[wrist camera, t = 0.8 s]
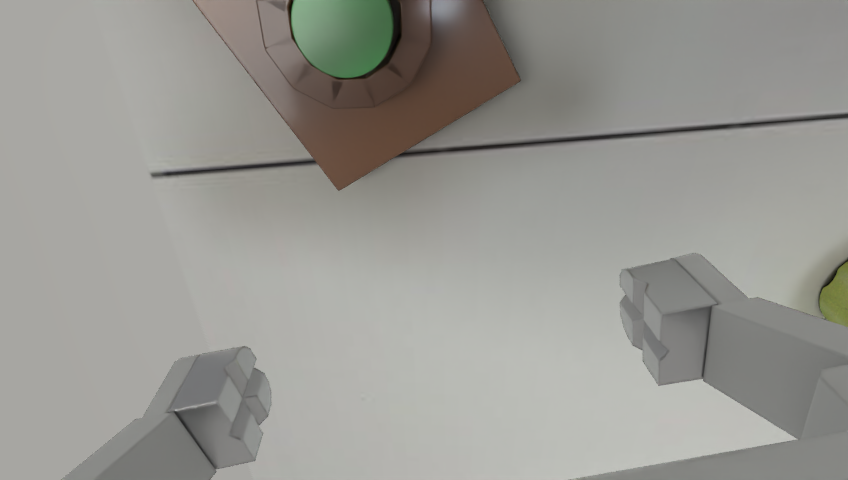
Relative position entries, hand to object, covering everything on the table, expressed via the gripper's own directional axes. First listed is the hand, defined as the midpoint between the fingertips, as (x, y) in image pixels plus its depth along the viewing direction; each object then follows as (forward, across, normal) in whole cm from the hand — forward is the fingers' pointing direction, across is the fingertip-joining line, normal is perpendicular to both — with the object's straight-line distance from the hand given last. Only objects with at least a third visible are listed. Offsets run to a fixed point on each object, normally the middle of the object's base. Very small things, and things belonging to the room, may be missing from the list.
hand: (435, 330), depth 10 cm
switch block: (+16, +2, -6) cm, 17 cm away
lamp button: (+12, +2, -6) cm, 14 cm away
